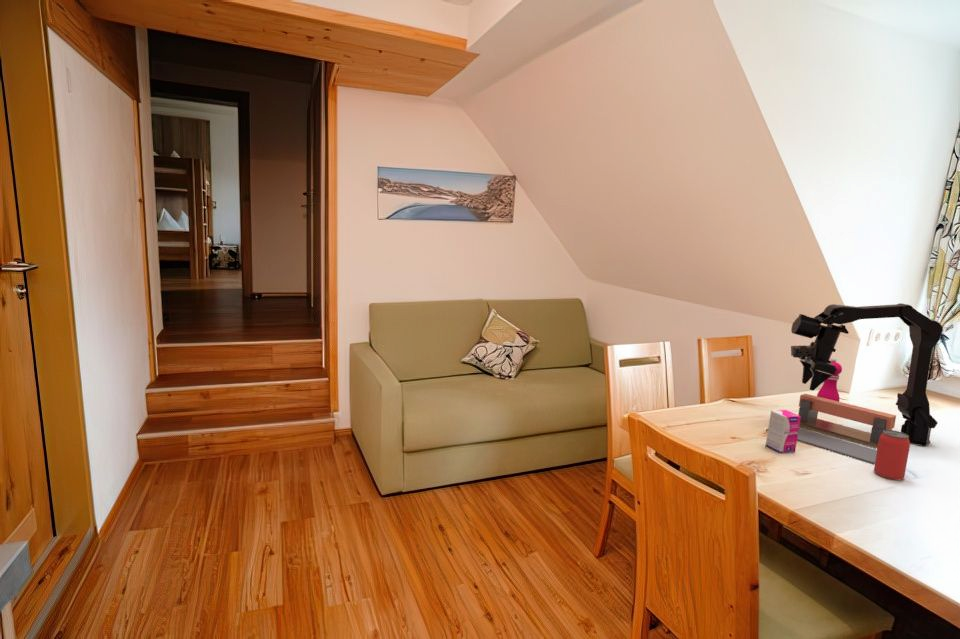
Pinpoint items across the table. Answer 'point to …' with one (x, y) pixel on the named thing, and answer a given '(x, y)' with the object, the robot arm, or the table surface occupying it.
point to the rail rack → (840, 427)
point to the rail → (848, 411)
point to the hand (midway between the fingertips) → (807, 386)
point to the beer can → (892, 454)
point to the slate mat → (837, 445)
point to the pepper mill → (831, 384)
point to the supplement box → (783, 431)
